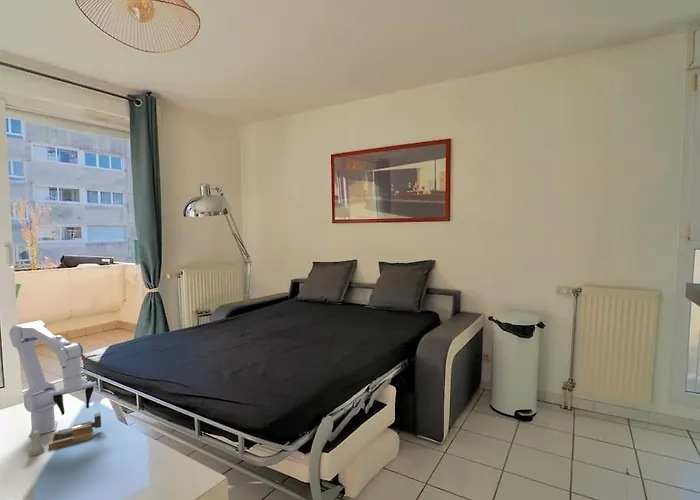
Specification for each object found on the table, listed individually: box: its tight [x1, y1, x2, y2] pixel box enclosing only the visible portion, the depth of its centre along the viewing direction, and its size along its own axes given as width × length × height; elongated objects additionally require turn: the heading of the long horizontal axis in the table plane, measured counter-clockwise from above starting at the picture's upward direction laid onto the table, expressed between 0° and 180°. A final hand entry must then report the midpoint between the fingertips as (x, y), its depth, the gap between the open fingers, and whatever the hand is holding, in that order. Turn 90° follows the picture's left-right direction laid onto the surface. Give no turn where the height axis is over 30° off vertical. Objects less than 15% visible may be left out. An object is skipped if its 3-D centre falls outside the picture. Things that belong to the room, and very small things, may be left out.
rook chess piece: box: [27, 429, 45, 457], centre depth 134 cm, size 4×4×8 cm
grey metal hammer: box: [57, 412, 102, 436], centre depth 145 cm, size 3×14×5 cm, turn 124°
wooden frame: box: [48, 420, 93, 450], centre depth 143 cm, size 9×13×4 cm
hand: (75, 410), depth 144 cm, fingers open, 7 cm apart
